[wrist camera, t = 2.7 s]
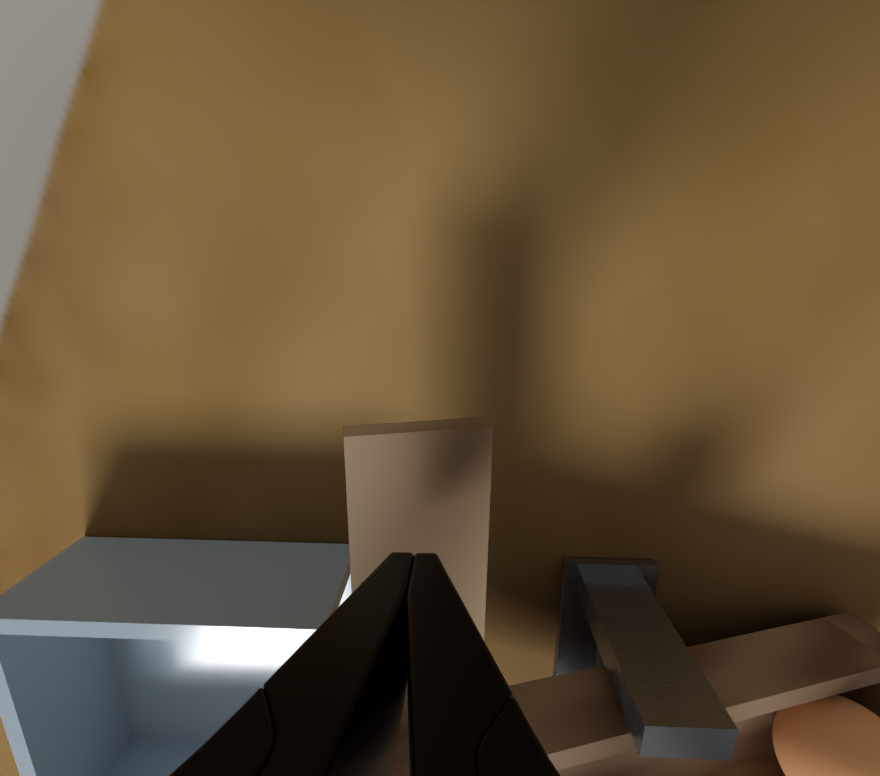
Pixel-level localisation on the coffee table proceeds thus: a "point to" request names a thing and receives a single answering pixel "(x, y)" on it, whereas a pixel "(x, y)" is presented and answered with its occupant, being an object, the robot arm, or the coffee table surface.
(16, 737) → the dish
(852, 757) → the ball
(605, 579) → the pivot stand
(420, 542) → the lever
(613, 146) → the coffee table surface
